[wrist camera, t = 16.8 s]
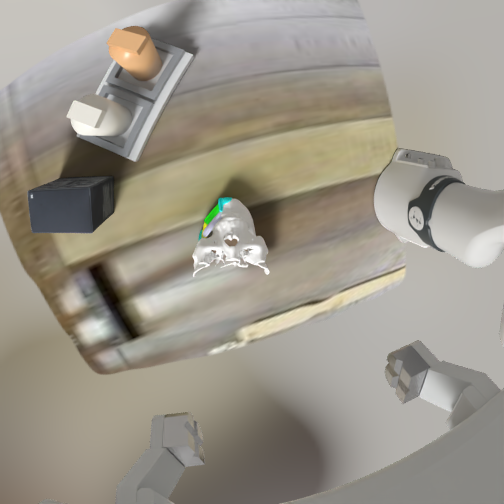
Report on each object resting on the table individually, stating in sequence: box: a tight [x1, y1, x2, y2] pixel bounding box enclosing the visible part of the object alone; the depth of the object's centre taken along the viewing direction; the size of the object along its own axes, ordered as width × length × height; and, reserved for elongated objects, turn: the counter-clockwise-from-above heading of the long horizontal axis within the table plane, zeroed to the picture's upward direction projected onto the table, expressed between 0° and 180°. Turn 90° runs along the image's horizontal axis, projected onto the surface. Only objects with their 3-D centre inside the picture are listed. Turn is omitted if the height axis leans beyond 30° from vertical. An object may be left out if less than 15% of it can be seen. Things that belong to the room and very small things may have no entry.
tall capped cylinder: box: [107, 26, 162, 81], centre depth 27 cm, size 5×5×12 cm
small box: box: [28, 176, 114, 233], centre depth 35 cm, size 11×6×10 cm, turn 85°
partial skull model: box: [192, 197, 269, 277], centre depth 43 cm, size 12×9×10 cm
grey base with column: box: [67, 38, 194, 162], centre depth 29 cm, size 18×11×14 cm, turn 151°
